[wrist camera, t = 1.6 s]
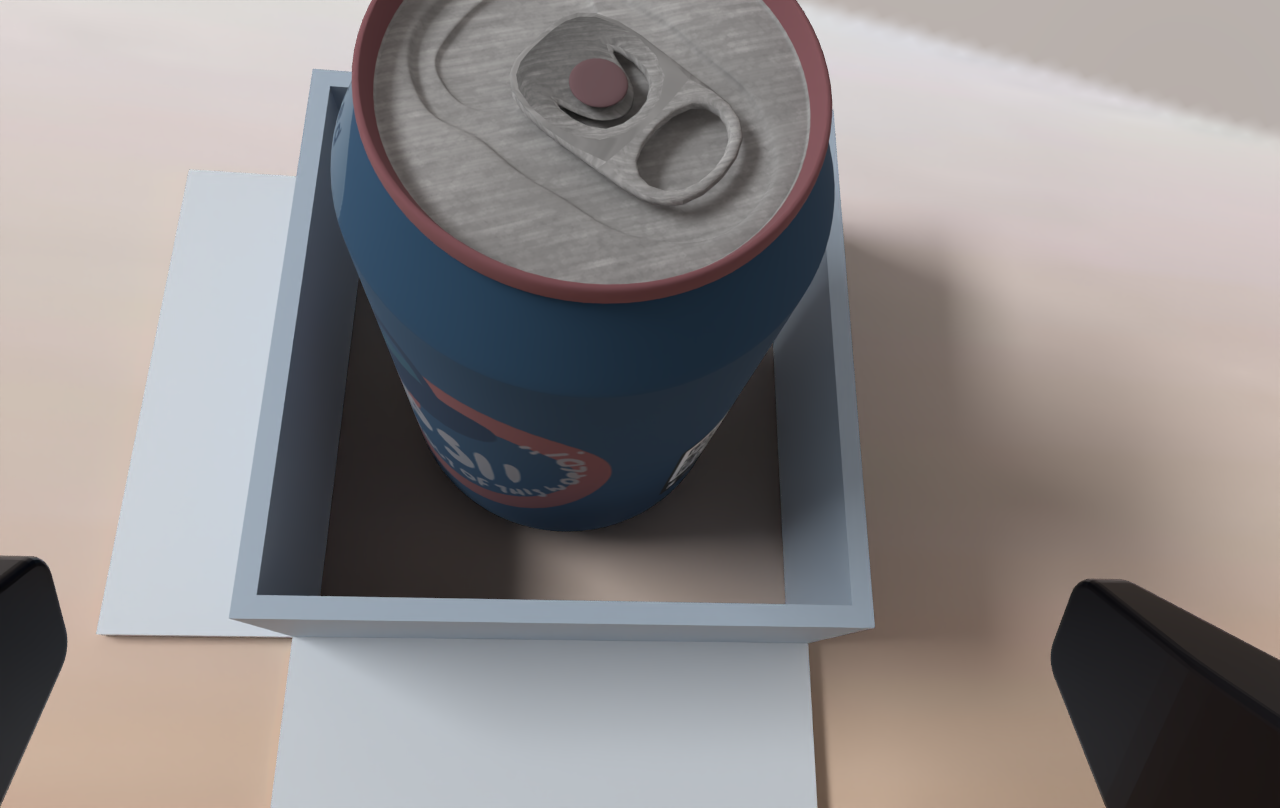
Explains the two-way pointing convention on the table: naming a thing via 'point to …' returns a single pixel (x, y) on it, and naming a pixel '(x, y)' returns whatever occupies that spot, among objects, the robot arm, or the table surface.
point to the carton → (450, 627)
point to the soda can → (581, 230)
